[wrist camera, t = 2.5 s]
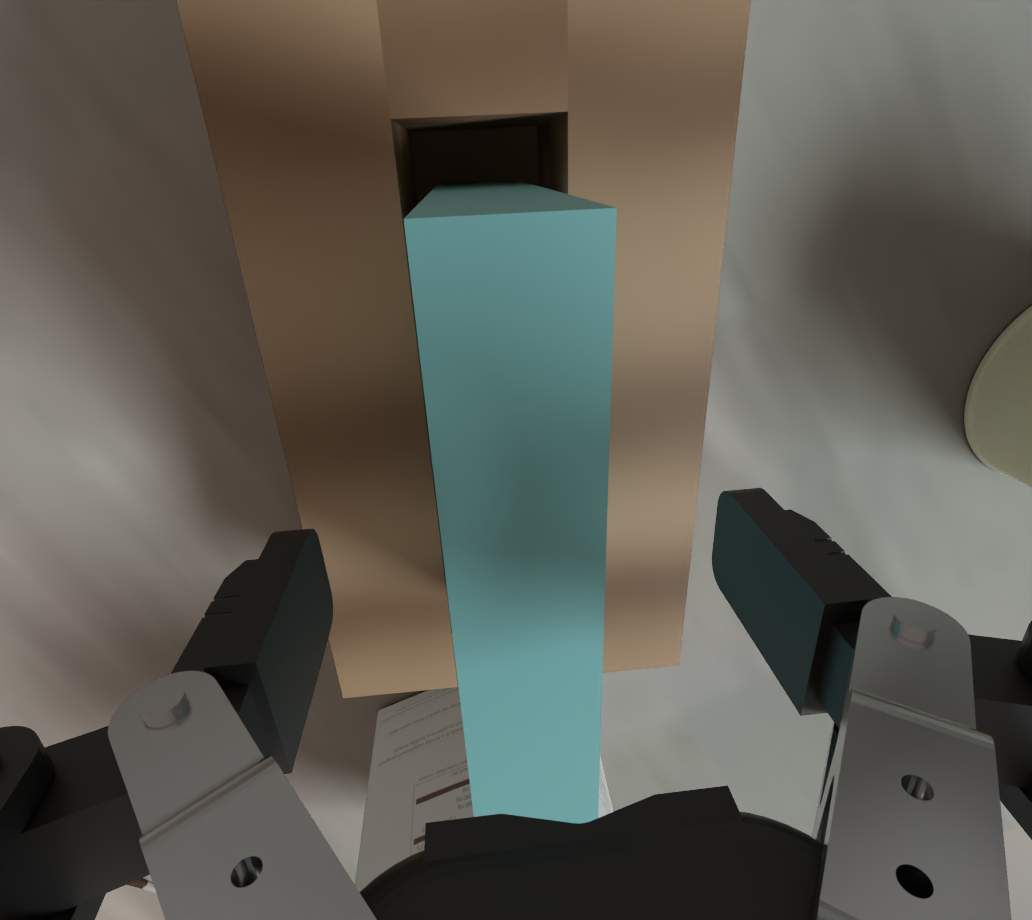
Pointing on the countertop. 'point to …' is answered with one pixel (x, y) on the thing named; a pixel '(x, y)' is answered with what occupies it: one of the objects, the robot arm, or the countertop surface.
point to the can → (1004, 403)
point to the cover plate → (521, 476)
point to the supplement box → (419, 779)
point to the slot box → (386, 275)
